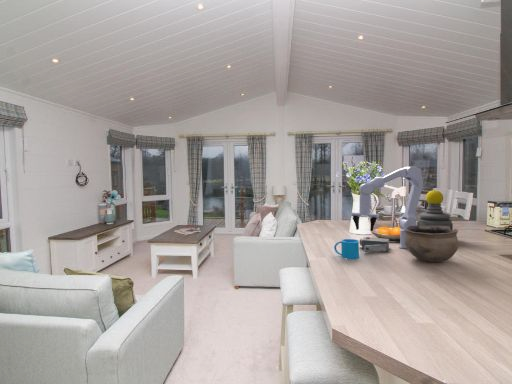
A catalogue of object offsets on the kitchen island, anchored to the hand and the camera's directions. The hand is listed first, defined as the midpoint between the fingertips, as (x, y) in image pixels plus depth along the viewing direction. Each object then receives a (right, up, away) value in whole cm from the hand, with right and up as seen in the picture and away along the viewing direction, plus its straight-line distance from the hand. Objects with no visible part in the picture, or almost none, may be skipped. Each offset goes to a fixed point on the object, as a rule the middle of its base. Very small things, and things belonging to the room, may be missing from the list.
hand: (364, 230), depth 174 cm
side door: (+3, -10, -11) cm, 15 cm away
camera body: (+5, -10, -3) cm, 11 cm away
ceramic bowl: (+21, -11, -28) cm, 36 cm away
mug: (-15, -11, -17) cm, 25 cm away
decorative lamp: (+46, -8, +14) cm, 49 cm away
